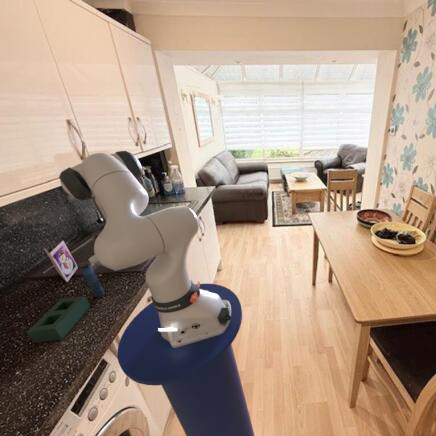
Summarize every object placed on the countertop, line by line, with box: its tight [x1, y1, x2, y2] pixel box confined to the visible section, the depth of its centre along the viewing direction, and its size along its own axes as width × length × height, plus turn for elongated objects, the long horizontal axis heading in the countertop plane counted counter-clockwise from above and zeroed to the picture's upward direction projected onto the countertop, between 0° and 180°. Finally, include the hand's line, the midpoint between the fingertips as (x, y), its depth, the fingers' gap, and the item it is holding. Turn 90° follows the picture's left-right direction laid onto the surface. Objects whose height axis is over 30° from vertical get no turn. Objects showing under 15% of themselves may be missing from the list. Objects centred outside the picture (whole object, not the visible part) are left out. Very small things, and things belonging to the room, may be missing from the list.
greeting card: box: [42, 240, 79, 283], centre depth 103 cm, size 11×7×15 cm, turn 20°
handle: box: [77, 260, 106, 299], centre depth 91 cm, size 4×4×15 cm
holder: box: [26, 295, 91, 344], centre depth 81 cm, size 8×14×5 cm, turn 7°
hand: (101, 269), depth 95 cm, fingers open, 8 cm apart
